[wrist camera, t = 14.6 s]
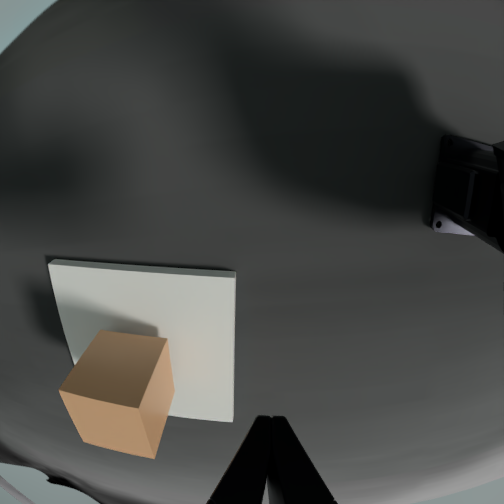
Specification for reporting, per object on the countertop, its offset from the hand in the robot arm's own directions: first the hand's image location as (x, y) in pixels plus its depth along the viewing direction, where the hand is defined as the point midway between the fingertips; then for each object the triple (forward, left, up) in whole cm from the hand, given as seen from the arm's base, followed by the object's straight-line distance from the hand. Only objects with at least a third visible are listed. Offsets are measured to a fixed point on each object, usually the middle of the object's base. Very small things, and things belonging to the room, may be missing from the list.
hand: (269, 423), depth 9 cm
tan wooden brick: (+9, +8, -11) cm, 16 cm away
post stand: (+9, +8, -13) cm, 18 cm away
